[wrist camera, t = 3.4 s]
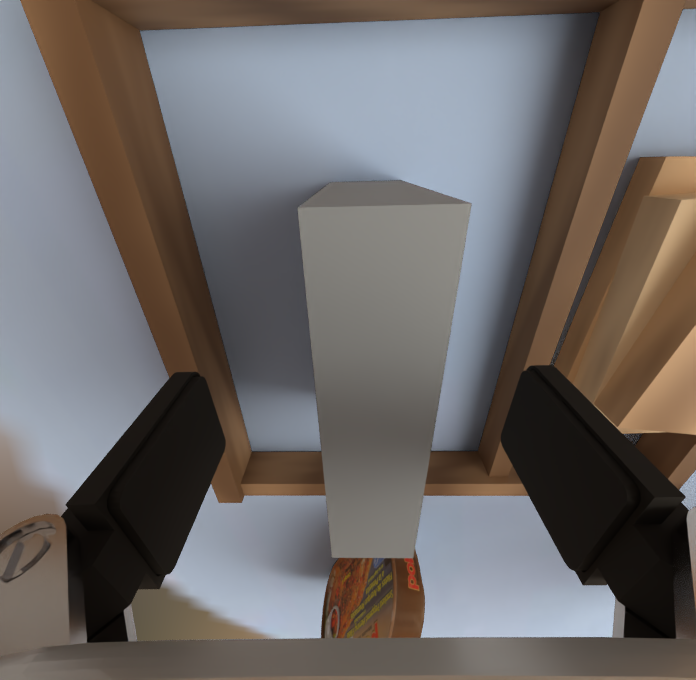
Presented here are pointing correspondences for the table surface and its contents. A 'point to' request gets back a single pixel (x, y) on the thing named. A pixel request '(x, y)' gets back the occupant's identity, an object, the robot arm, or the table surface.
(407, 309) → the grey rectangular block
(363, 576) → the tin
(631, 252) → the offcut stack
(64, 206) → the table surface
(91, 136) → the rack
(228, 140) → the table surface
